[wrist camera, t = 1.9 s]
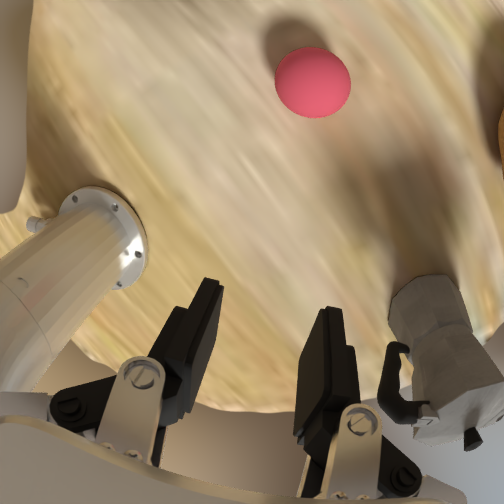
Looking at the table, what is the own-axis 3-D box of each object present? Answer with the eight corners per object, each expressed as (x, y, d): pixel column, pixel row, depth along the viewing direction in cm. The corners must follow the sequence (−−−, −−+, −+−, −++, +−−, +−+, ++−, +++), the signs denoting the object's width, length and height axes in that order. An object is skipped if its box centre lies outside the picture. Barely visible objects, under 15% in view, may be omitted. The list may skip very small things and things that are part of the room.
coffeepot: (483, 287, 27) (552, 409, 11) (442, 345, 32) (480, 468, 16) (377, 247, 27) (434, 411, 12) (339, 320, 32) (348, 476, 16)
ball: (271, 108, 23) (264, 109, 18) (284, 47, 20) (279, 33, 15) (337, 123, 23) (346, 129, 18) (350, 63, 20) (364, 53, 15)
